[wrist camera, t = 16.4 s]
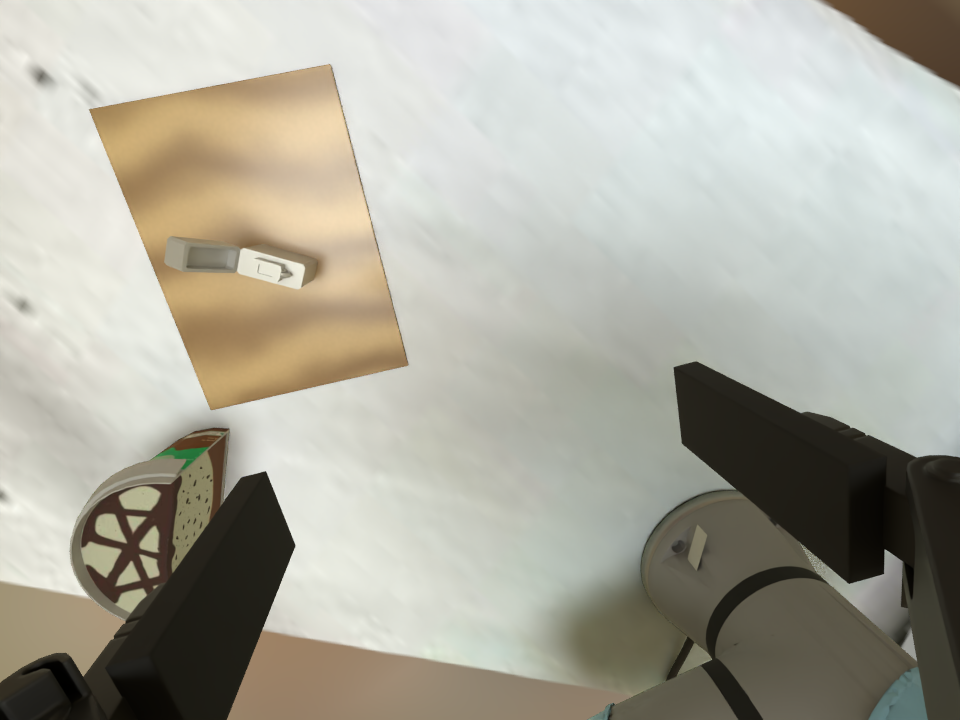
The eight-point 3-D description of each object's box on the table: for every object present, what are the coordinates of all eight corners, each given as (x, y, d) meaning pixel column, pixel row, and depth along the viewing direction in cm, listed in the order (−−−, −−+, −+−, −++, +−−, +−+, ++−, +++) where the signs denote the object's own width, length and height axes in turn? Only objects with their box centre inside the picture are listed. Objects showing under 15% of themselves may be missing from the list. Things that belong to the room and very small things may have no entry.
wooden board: (408, 364, 40) (407, 365, 40) (212, 408, 39) (210, 410, 39) (330, 65, 33) (330, 64, 33) (91, 110, 32) (88, 109, 32)
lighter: (318, 259, 36) (291, 271, 29) (313, 281, 37) (286, 299, 29) (218, 231, 35) (162, 236, 27) (214, 254, 35) (158, 266, 28)
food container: (147, 400, 38) (57, 462, 29) (230, 412, 39) (171, 475, 30) (142, 533, 41) (60, 629, 32) (219, 541, 42) (162, 636, 33)
